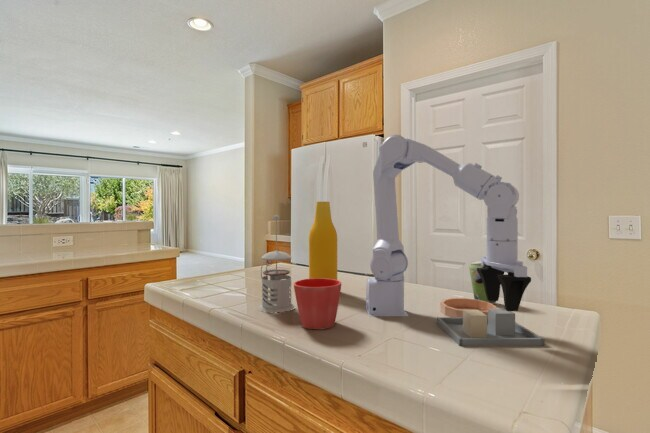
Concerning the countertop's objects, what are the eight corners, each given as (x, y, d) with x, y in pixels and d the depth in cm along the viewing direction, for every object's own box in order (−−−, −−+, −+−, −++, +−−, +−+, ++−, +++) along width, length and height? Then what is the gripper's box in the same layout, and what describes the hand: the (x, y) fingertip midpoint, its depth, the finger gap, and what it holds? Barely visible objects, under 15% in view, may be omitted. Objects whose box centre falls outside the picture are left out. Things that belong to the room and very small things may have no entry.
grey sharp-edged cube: (495, 334, 69) (495, 313, 69) (487, 329, 72) (488, 308, 72) (515, 334, 69) (515, 313, 69) (506, 329, 72) (506, 308, 72)
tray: (459, 348, 63) (459, 339, 63) (436, 325, 76) (436, 317, 76) (544, 348, 63) (544, 339, 63) (507, 325, 76) (507, 317, 76)
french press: (270, 315, 84) (270, 215, 84) (248, 305, 93) (247, 214, 92) (302, 308, 90) (301, 214, 90) (278, 299, 99) (277, 214, 99)
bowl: (452, 324, 77) (452, 311, 77) (434, 308, 90) (434, 298, 90) (506, 324, 77) (506, 311, 77) (481, 308, 90) (481, 297, 90)
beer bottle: (340, 289, 111) (340, 201, 111) (332, 296, 103) (332, 201, 102) (314, 287, 114) (314, 202, 114) (304, 294, 105) (304, 201, 105)
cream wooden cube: (487, 337, 67) (487, 315, 67) (470, 337, 67) (471, 315, 67) (477, 330, 71) (478, 309, 71) (462, 330, 71) (462, 309, 71)
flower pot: (294, 317, 82) (293, 278, 82) (338, 316, 83) (338, 277, 83) (293, 333, 72) (293, 287, 72) (344, 331, 73) (344, 286, 73)
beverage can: (501, 307, 91) (501, 262, 90) (471, 305, 92) (472, 262, 92) (494, 301, 97) (494, 259, 97) (467, 300, 98) (467, 258, 98)
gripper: (543, 243, 63) (543, 315, 63) (502, 237, 77) (502, 296, 77) (505, 243, 63) (505, 316, 63) (472, 237, 77) (472, 296, 78)
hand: (501, 305), depth 70 cm, fingers open, 7 cm apart
